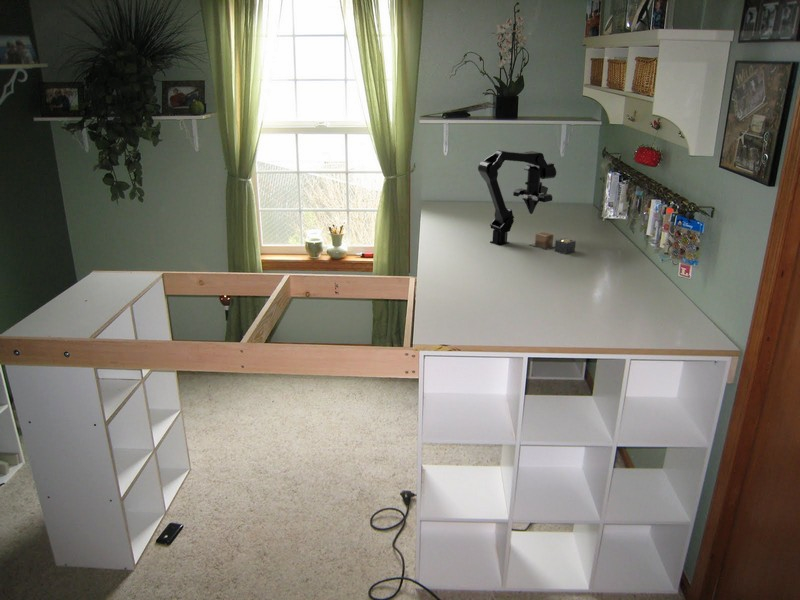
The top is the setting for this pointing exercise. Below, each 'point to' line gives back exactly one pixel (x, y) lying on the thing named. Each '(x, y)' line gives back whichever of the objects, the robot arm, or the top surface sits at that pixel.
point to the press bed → (543, 247)
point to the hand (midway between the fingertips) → (531, 213)
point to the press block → (565, 246)
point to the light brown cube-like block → (544, 239)
